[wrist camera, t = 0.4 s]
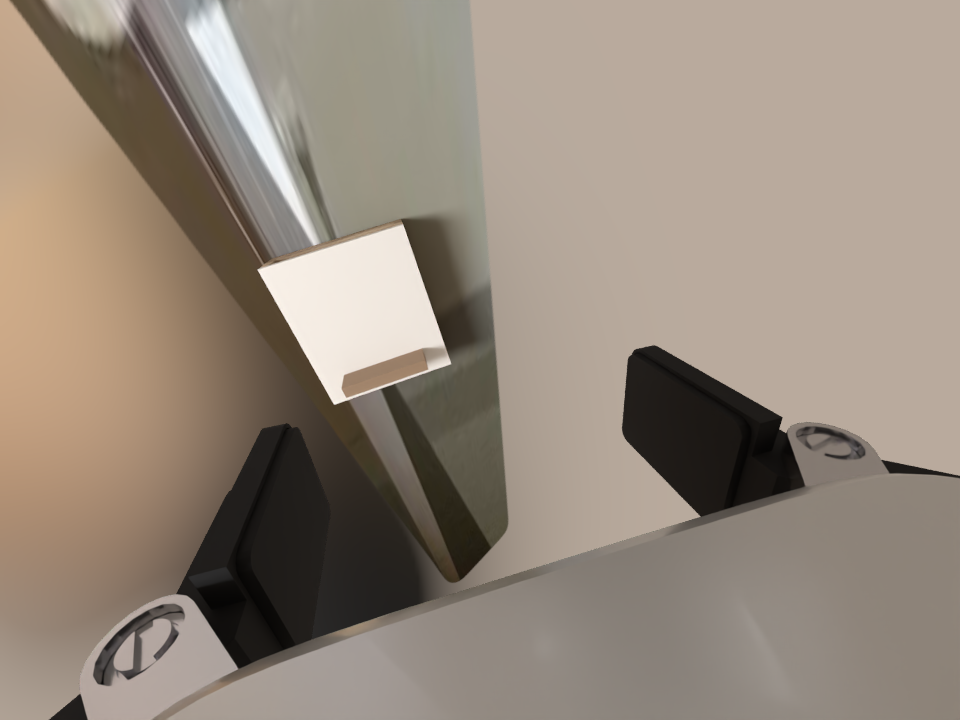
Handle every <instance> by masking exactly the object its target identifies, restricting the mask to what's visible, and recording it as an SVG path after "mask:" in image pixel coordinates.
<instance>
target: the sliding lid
mask: <svg viewBox="0 0 960 720" xmlns="http://www.w3.org/2000/svg"><path fill="white" fill-rule="evenodd" d="M258 271H259V273H260V275H261V277H262V278H263V280H264V282H265V284H266V285H267V287H268V289H269V291H270V292H271V294H272V296H273V298H274V299H275V301H276V303H277V305H278V306H279V308H280V310H281V312H282V314H283V315H284V317H285V319H286V321H287V322H288V324H289V326H290V328H291V329H292V331H293V333H294V335H295V336H296V338H297V340H298V342H299V343H300V345H301V347H302V349H303V351H304V352H305V354H306V356H307V358H308V359H309V361H310V363H311V365H312V366H313V368H314V370H315V372H316V373H317V375H318V377H319V379H320V380H321V382H322V384H323V386H324V388H325V389H326V391H327V393H328V395H329V396H330V398H331V400H332V402H333V403H334V405H335V404H338V403H341V402H343V401H346V400H349V399H352V398H355V397H358V396H361V395H363V394H366V393H369V392H372V391H375V390H378V389H381V388H384V387H386V386H389V385H392V384H395V383H398V382H401V381H404V380H407V379H409V378H412V377H415V376H418V375H421V374H424V373H427V372H429V371H432V370H435V369H438V368H441V367H444V366H447V365H450V364H451V362H450V359H449V356H448V353H447V350H446V347H445V345H444V342H443V339H442V336H441V333H440V330H439V327H438V324H437V321H436V318H435V316H434V313H433V310H432V307H431V304H430V301H429V298H428V295H427V292H426V289H425V286H424V284H423V281H422V278H421V275H420V272H419V269H418V266H417V263H416V260H415V257H414V255H413V252H412V249H411V246H410V243H409V240H408V237H407V234H406V231H405V228H404V225H403V224H400V225H397V226H393V227H390V228H387V229H384V230H381V231H377V232H374V233H371V234H368V235H364V236H361V237H358V238H355V239H352V240H348V241H345V242H342V243H339V244H335V245H332V246H329V247H326V248H322V249H319V250H316V251H313V252H310V253H306V254H303V255H300V256H297V257H293V258H290V259H287V260H284V261H281V262H277V263H274V264H271V265H268V266H264V267H261V268H259V269H258Z"/></svg>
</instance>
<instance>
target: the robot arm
mask: <svg viewBox="0 0 960 720" xmlns="http://www.w3.org/2000/svg"><path fill="white" fill-rule="evenodd" d="M781 421H782V417H781V416H779V415H777V414H775V413H774V412H772V411H770V410H768V409H767V408H765V407H763V406H761V405H760V404H758V403H756V402H754V401H753V400H751V399H749V398H747V397H745V396H744V395H742V394H740V393H739V392H737V391H735V390H733V389H731V388H730V387H728V386H726V385H724V384H723V383H721V382H719V381H717V380H715V379H714V378H712V377H710V376H709V375H707V374H705V373H703V372H702V371H700V370H698V369H696V368H694V367H692V366H691V365H689V364H687V363H686V362H684V361H682V360H680V359H679V358H677V357H675V356H673V355H672V354H670V353H668V352H666V351H665V350H662V349H661V348H659V347H657V346H649V347H644V348H639V349H636V350H634V351H633V353H632V355H631V356H630V357H629V358H628V365H627V377H626V388H625V400H624V412H623V424H622V431H623V435H624V437H625V439H626V440H627V442H628V443H629V444H630V445H632V447H633V448H634V449H635V450H636V451H637V452H638V453H639V454H640V455H641V456H642V457H643V458H644V459H645V460H646V461H647V462H648V463H649V464H650V465H651V466H652V467H653V468H654V469H655V470H656V471H657V472H658V473H659V474H660V475H661V476H662V477H663V478H664V479H665V480H666V481H667V482H668V483H669V484H670V485H671V487H672V488H673V489H674V490H675V491H676V492H678V494H679V495H680V496H681V497H682V498H683V499H684V500H685V501H686V502H687V503H688V504H689V505H690V506H691V507H692V508H693V509H694V510H695V511H696V512H697V513H698V514H699V515H700V516H701V517H699V518H696V519H692V520H689V521H686V522H683V523H679V524H676V525H673V526H669V527H666V528H663V529H660V530H656V531H653V532H650V533H646V534H643V535H640V536H637V537H633V538H630V539H627V540H624V541H620V542H617V543H614V544H611V545H608V546H604V547H601V548H598V549H594V550H591V551H588V552H585V553H581V554H578V555H575V556H572V557H568V558H565V559H562V560H559V561H556V562H553V563H549V564H546V565H543V566H540V567H536V568H533V569H530V570H527V571H524V572H520V573H517V574H514V575H511V576H508V577H505V578H501V579H498V580H495V581H492V582H488V583H485V584H482V585H479V586H476V587H473V588H469V589H466V590H463V591H460V592H457V593H454V594H450V595H447V596H444V597H441V598H438V599H435V600H431V601H428V602H425V603H422V604H419V605H416V606H412V607H409V608H406V609H403V610H400V611H397V612H393V613H390V614H387V615H384V616H382V617H379V618H375V619H372V620H369V621H367V622H363V623H360V624H357V625H354V626H352V627H348V628H345V629H343V630H339V631H336V632H334V633H331V634H328V635H325V636H322V637H319V638H316V639H313V640H311V637H312V631H313V624H314V617H315V611H316V605H317V598H318V592H319V586H320V579H321V572H322V566H323V560H324V553H325V546H326V541H327V533H328V527H329V521H330V507H329V503H328V500H327V497H326V495H325V492H324V490H323V487H322V485H321V482H320V480H319V477H318V475H317V472H316V469H315V467H314V464H313V462H312V459H311V457H310V454H309V452H308V449H307V447H306V444H305V442H304V439H303V437H302V434H301V432H300V430H299V428H298V427H295V428H292V427H291V426H290V425H289V424H287V423H286V424H282V425H278V426H272V427H268V428H264V429H262V430H261V432H260V434H259V436H258V438H257V440H256V442H255V444H254V446H253V448H252V450H251V452H250V454H249V456H248V458H247V460H246V462H245V464H244V466H243V468H242V470H241V472H240V474H239V476H238V478H237V480H236V482H235V484H234V486H233V488H232V490H231V491H229V492H228V494H227V495H226V497H225V499H224V501H223V503H222V505H221V507H220V509H219V511H218V513H217V515H216V517H215V519H214V520H213V522H212V525H211V527H210V528H209V530H208V533H207V534H206V536H205V538H204V540H203V542H202V544H201V546H200V548H199V550H198V552H197V554H196V556H195V558H194V560H193V562H192V564H191V566H190V568H189V570H188V572H187V574H186V576H185V578H184V580H183V582H182V584H181V586H180V588H179V590H178V592H177V594H175V595H170V596H166V597H161V598H159V599H157V600H155V601H152V602H150V603H147V604H145V605H144V606H142V607H141V608H139V609H137V610H136V611H135V612H133V613H131V614H129V615H128V616H127V617H126V618H124V619H123V620H122V621H121V622H119V623H118V624H117V625H116V626H115V627H113V628H112V629H111V630H110V631H109V633H108V634H107V635H106V636H105V637H104V638H103V639H102V640H101V641H100V642H99V643H98V644H97V646H96V647H95V649H94V650H93V652H92V653H91V654H90V656H89V657H88V659H87V660H86V663H85V665H84V667H83V670H82V672H81V674H80V685H79V689H80V693H81V694H79V695H78V696H77V697H76V698H75V699H74V700H72V701H71V702H70V703H69V704H67V705H66V706H65V707H64V708H63V709H61V710H60V711H59V712H58V713H57V714H55V715H54V716H53V717H52V718H51V719H50V720H960V476H958V475H952V474H948V473H943V472H938V471H933V470H928V469H924V468H919V467H914V466H909V465H904V464H899V463H894V462H889V461H884V460H881V459H880V457H879V456H878V454H877V453H876V451H875V450H874V449H873V448H872V446H871V445H870V444H869V443H868V442H866V441H865V440H863V439H862V438H861V437H859V436H857V435H855V434H853V433H851V432H849V431H846V430H844V429H841V428H838V427H835V426H831V425H826V424H821V423H811V422H805V423H797V424H794V425H792V426H790V428H789V429H788V430H787V433H785V432H783V431H781V430H779V427H780V424H781Z"/></svg>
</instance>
